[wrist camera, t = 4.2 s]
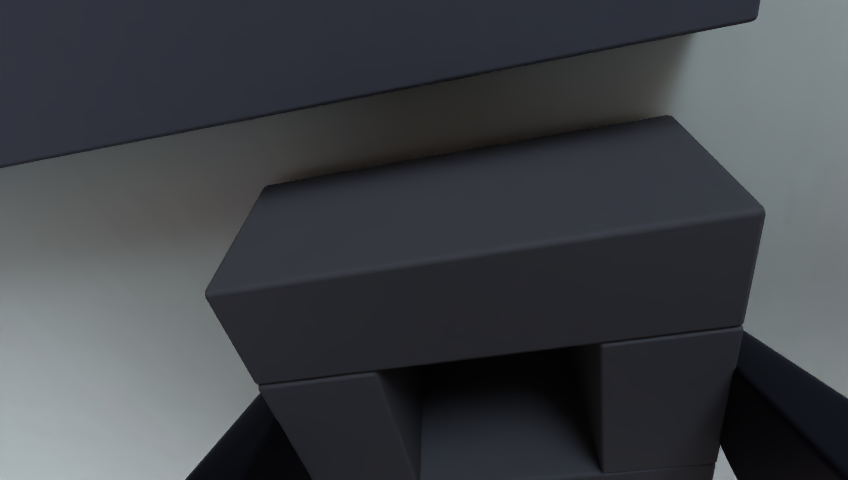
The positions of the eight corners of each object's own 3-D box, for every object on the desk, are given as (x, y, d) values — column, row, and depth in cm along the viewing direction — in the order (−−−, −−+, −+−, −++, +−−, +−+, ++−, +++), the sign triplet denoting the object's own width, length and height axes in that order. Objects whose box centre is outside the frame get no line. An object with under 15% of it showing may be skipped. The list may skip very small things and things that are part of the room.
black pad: (671, 112, 8) (770, 209, 6) (651, 391, 12) (705, 520, 10) (263, 184, 9) (199, 294, 7) (365, 423, 13) (348, 548, 11)
